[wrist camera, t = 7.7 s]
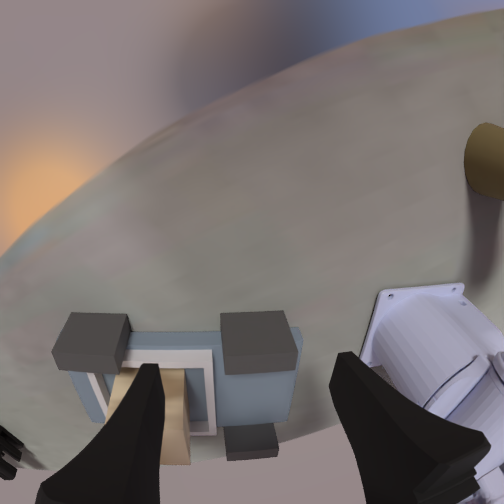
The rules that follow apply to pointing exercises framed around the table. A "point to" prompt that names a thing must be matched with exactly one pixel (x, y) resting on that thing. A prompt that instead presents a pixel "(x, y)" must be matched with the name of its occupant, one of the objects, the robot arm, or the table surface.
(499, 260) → the table surface
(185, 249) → the table surface
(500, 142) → the cork
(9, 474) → the end cap
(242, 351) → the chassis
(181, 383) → the block
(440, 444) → the robot arm
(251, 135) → the table surface
